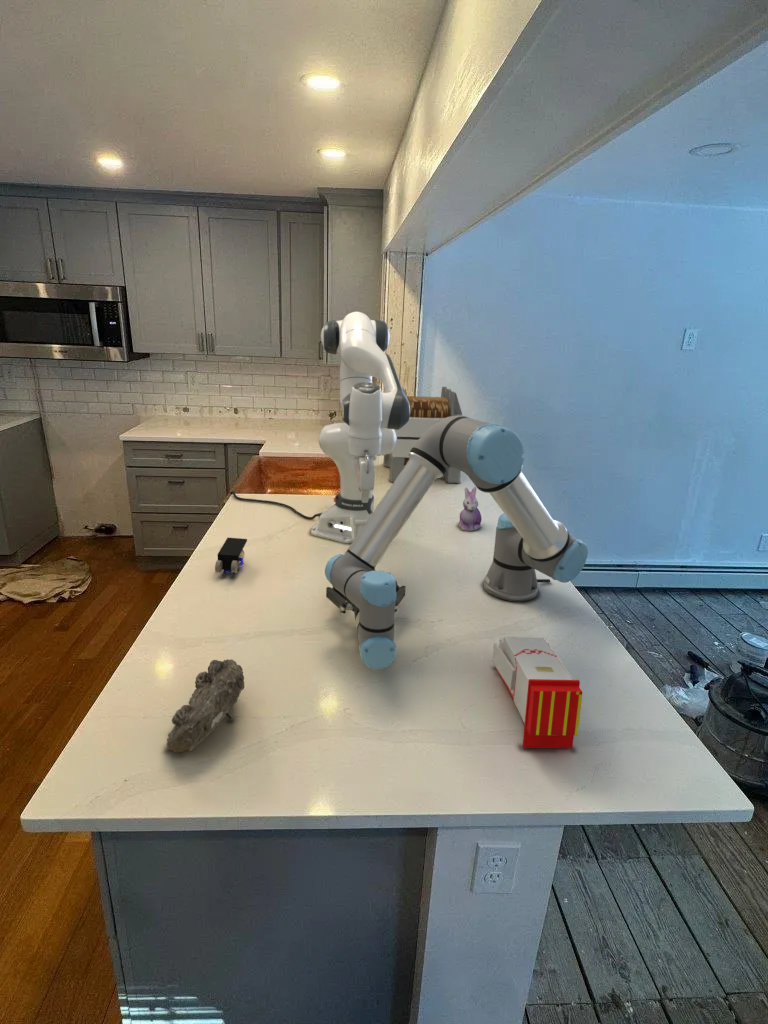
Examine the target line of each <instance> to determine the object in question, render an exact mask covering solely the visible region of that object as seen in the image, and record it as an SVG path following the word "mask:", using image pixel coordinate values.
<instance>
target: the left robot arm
mask: <svg viewBox="0 0 768 1024" xmlns="http://www.w3.org/2000/svg"><path fill="white" fill-rule="evenodd" d="M390 340H391V332H390V330H389V327H388V324H387V323H386V321H384V320H382V319H371V318H370V317H369V316H368V315H367V314H366V313H364V312H361V311H351V312H350V313H348V314H346V315H345V316H344V317H343V319H339V320H336V319H333V320H329V321H326V322H325V323H324V324H323V327H322V329H321V331H320V342H321V345H322V347H323V350H324V351H325V352H326V353H327V354H330V355H335V356H336V355H340V358H341V359H340V363H339V379H338V380H339V383H338V384H339V385H338V386H339V403H340V406H341V408H342V417H341V420H342V422H335V423H330V424H329V423H328V424H325V425H323V427H322V428H321V430H320V432H319V435H318V445H319V447H320V449H321V451H322V452H323V453H324V454H325V455H326V456H328V457H329V458H330V459H331V460H332V462H334V464H335V466H336V467H337V470H338V474H339V483H340V484H339V485H340V488H339V489H340V490H339V491H338V492H337V494H336V495H335V496H334V497H333V502H334V504H333V505H331V506H329V507H328V508H326V509H325V510H323V512H319V513H315V514H314V515H312V516H306V515H304V514H303V513H302V512H299V511H298V510H296V509H295V508H294V507H292V506H290V505H289V504H286V503H283V502H278V501H273V500H265V499H256V498H246V497H245V498H244V497H239V496H238V495H237V494H236V492H235V491H234V490H232V491H230V493H229V495H233V497H234V498H235V499H236V500H239V501H244V502H256V503H264V504H272V505H277V506H280V507H281V506H282V507H285V508H288V509H290V510H291V511H292V512H293V513H295V514H297V515H298V516H300V517H301V518H304V519H305V520H315V518H316V517H318V521H317V523H315V524H314V525H313V526H312V528H311V530H310V533H311V536H315V537H319V538H323V539H326V540H330V541H336V542H339V543H343V544H351V542H353V541H354V539H355V520H368V519H369V517H370V516H371V515H372V513H373V512H374V510H375V496H374V489H375V461H376V460H377V457H380V456H384V455H386V454H390V453H391V452H392V451H393V450H394V449H395V446H396V443H397V436H396V433H395V431H394V430H399V429H400V428H402V427H403V426H404V425H405V424H407V422H408V421H409V418H410V405H409V402H408V399H407V397H406V395H405V394H404V392H403V390H402V388H403V387H402V384H401V382H400V379H399V377H398V376H399V375H398V373H397V369H396V368H395V365H394V363H393V360H392V357H391V356H390V355H389V354H388V353H386V351H387V349H388V346H389V344H390ZM373 378H374V379H377V380H379V381H380V382H381V383H382V386H383V389H384V392H382V388H381V386H379V384H377V383H374V382H373ZM362 528H363V526H358V533H359V532H360V531H361V529H362Z"/></svg>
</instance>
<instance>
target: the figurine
mask: <svg viewBox="0 0 768 1024" xmlns="http://www.w3.org/2000/svg"><path fill="white" fill-rule="evenodd" d="M476 494H477V487H476V486H474V487H473V488H472V489H471V491H470V490H469V488H467V487H464V499H463V501H462V506H463V509H462V510H461V511H460V513H459V521H458V527H459V528H460V529H461V530H463V531H469V532H472V531H476V530H478V529H479V528H481V523H482V514H481V512H480V510H479V508H478V507H479V501H478V498H477V497H476Z"/></svg>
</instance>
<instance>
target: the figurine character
mask: <svg viewBox="0 0 768 1024" xmlns="http://www.w3.org/2000/svg"><path fill="white" fill-rule="evenodd" d="M247 542H248V538H240V537H226V539H225V541H224V543H223V544H222V546H221V547H220V549H219V551H218V552H217V560H216V562H215V564H214V572H215V573H221V577H222V578H224V577H225V576H226V574H227V573H230V574H231V573H232V574H231V578H234V577H235V575H236V573H237V572H239V571H240V567H242V566H243V565H244V564H245V562H244V558H245V551H244V547H245V546H246V544H247Z"/></svg>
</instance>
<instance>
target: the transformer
mask: <svg viewBox="0 0 768 1024" xmlns="http://www.w3.org/2000/svg"><path fill="white" fill-rule="evenodd" d="M402 390H403V392H404V394H405V395H406V397H407V399H408V402H409V405H410V418H409V421H408V422H407V424H405V425H404V426H403V427H402V428H400V429H399V430H394V431H395V433H396V436H397V443H396V446H395V449H394V450H393V451H392V452H391V453H390V454H386V455H383V466H384V467H388V468H389V475H388V476H389V477H388V478H389V480H390V482H391V483H394V481H395V480H396V478H397V477H398V475H399V474H400V473H401V471H402V470H403V468H404V467H405V465H406V464H407V462H408V461H409V456H408V453H409V452H410V450H411V449H412V448H413V446H414V445H415V444H416V442H417V441H418V440H419V439H420V437H421V436H422V435H423V434H424V433H425V432H426V431H427V430H428V429H429V428H431V427H432V426H433V425H434V424H436V423H437V422H439V421H440V420H442V419H444V418H447V417H450V416H457V415H459V416H463V411H462V408H461V405H460V402H459V398H458V395H457V392H455V391H453V390H452V389H451V388H447V386H442V387H441V392H440V393H441V394H440V396H415V395H414V396H413V395H412V396H411V395H407V394H408V393H407V390H406V389H404V388H403V387H402ZM461 472H462V471H460V470H458V469H455V468H453V467H451V468H449V469H448V470H447V471H446V472H445V474H444V475H443V478H444V479H445V481H446V482H447V483H449V484H455V483H456V484H459V483H461Z"/></svg>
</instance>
